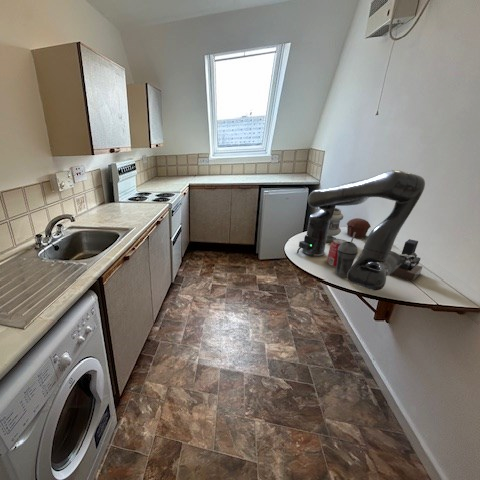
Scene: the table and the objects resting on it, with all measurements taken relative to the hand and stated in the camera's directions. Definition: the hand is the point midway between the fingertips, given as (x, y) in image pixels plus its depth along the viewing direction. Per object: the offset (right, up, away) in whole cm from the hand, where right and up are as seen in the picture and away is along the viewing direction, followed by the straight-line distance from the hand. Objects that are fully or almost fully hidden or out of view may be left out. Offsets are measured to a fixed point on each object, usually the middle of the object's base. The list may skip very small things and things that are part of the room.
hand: (400, 251), depth 107 cm
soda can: (-14, -7, +19) cm, 25 cm away
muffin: (+20, +7, +51) cm, 55 cm away
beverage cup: (-17, -11, +10) cm, 23 cm away
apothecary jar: (0, +5, +48) cm, 48 cm away
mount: (+9, -10, +9) cm, 16 cm away
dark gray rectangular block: (+9, -10, +9) cm, 16 cm away
